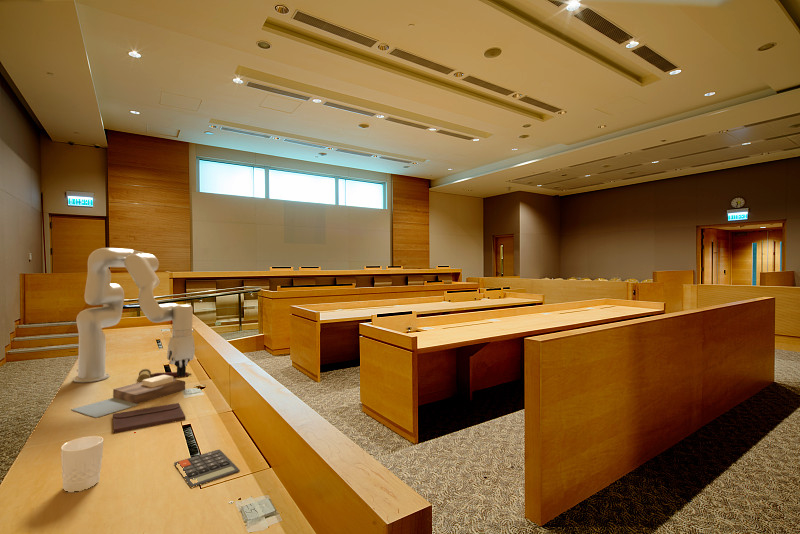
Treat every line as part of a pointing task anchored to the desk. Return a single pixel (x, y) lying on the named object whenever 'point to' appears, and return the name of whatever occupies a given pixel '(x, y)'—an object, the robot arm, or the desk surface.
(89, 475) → the white cup
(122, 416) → the notebook
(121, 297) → the robot arm
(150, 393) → the brown wooden board
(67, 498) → the desk surface
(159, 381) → the cream flat block
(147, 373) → the gavel
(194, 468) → the calculator
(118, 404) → the mat
